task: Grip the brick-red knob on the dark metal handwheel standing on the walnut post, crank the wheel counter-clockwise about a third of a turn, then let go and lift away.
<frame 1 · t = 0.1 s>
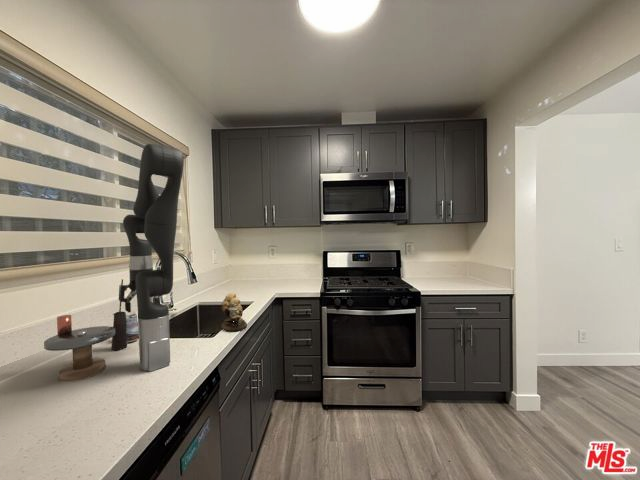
hand: (142, 309, 106), 17 cm above the worktop, tool pointing down, fingers open, 8 cm apart
beverage can: (130, 341, 120), on the worktop
wheel stand: (83, 372, 93), on the worktop
butter churn: (117, 350, 111), on the worktop
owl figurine: (234, 327, 136), on the worktop
handwheel: (81, 328, 93), point 15 cm above the worktop, hinge at 0.0°
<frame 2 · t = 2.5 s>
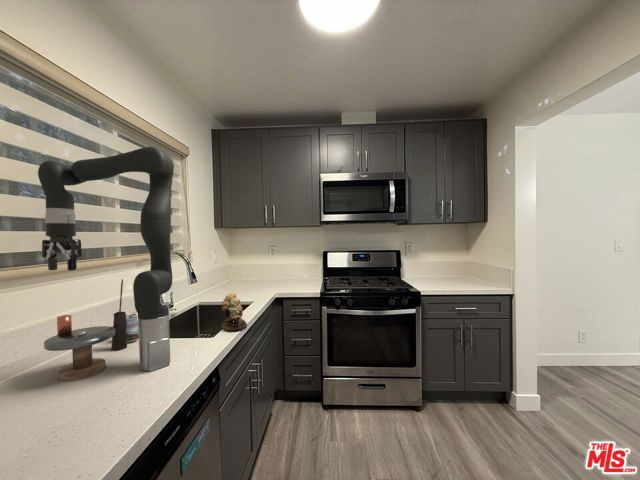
hand: (62, 270, 94), 34 cm above the worktop, tool pointing down, fingers open, 8 cm apart
nothing on the worktop moved.
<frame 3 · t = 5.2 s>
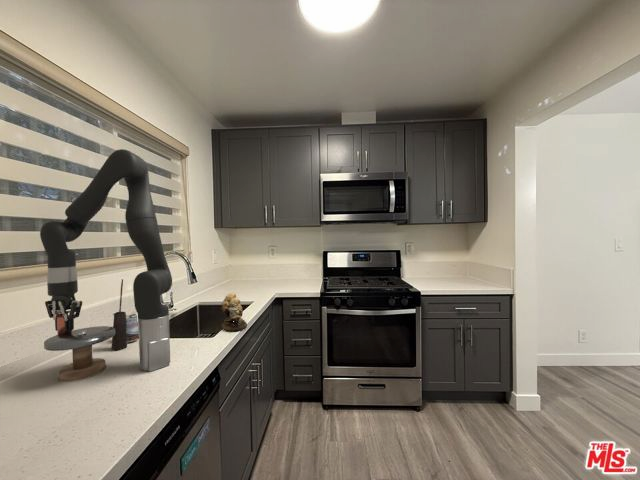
hand: (64, 330, 94), 14 cm above the worktop, tool pointing down, fingers closed on handwheel, 3 cm apart
handwheel: (81, 328, 93), point 15 cm above the worktop, hinge at 0.0°, touching gripper
everything else where it was.
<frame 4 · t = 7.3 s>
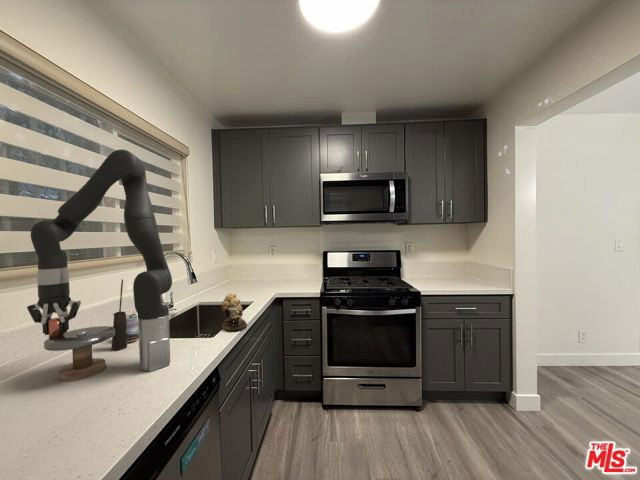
hand: (56, 333, 91), 14 cm above the worktop, tool pointing down, fingers closed on handwheel, 3 cm apart
handwheel: (81, 328, 92), point 15 cm above the worktop, hinge at 22.4°, touching gripper
everything else where it was.
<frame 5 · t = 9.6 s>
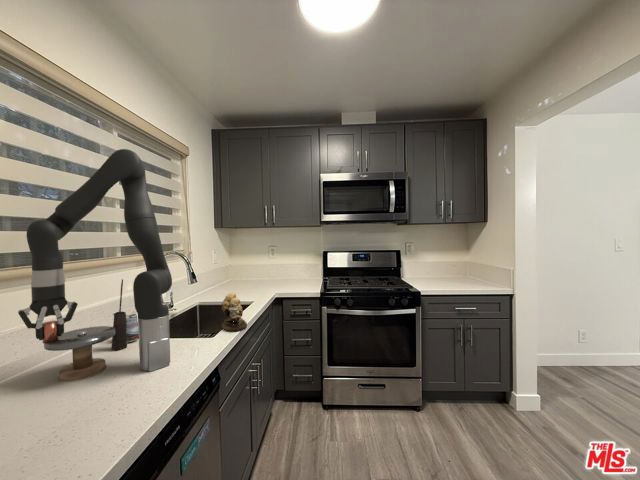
hand: (50, 337, 88), 14 cm above the worktop, tool pointing down, fingers closed on handwheel, 3 cm apart
handwheel: (81, 328, 92), point 15 cm above the worktop, hinge at 55.4°, touching gripper
everything else where it was.
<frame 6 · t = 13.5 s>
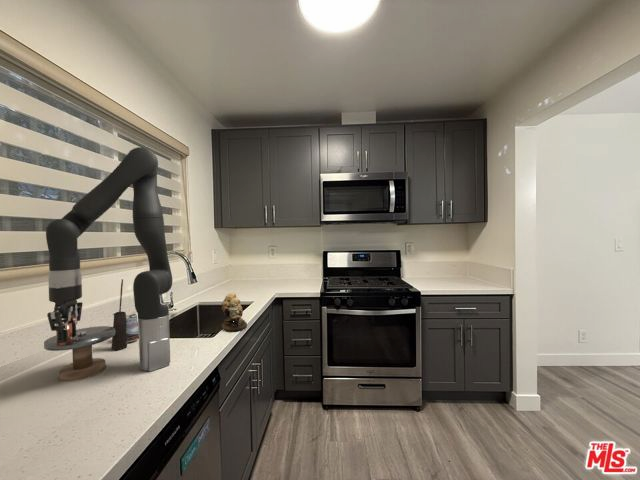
hand: (67, 339, 85), 14 cm above the worktop, tool pointing down, fingers open, 4 cm apart
handwheel: (81, 328, 92), point 15 cm above the worktop, hinge at 112.2°
everything else where it was.
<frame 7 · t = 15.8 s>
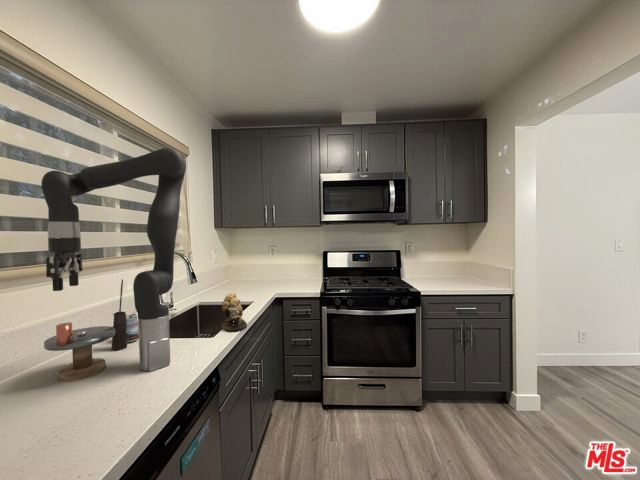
hand: (66, 288, 87), 29 cm above the worktop, tool pointing down, fingers open, 8 cm apart
nothing on the worktop moved.
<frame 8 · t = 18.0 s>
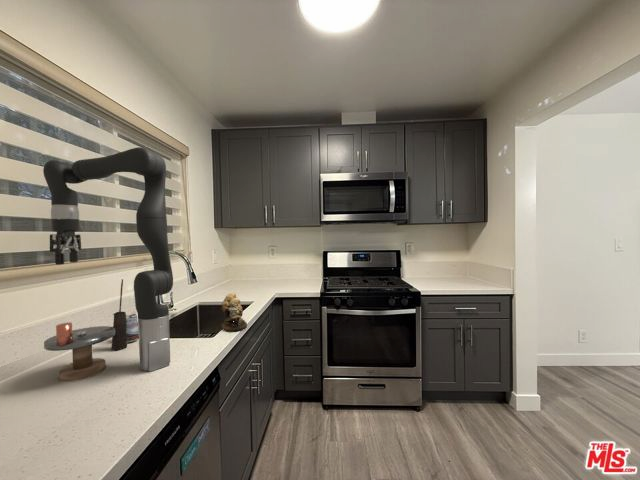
hand: (67, 263, 100), 36 cm above the worktop, tool pointing down, fingers open, 8 cm apart
nothing on the worktop moved.
at the end: handwheel at +112° (first picture: +0°); the gripper is holding nothing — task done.
